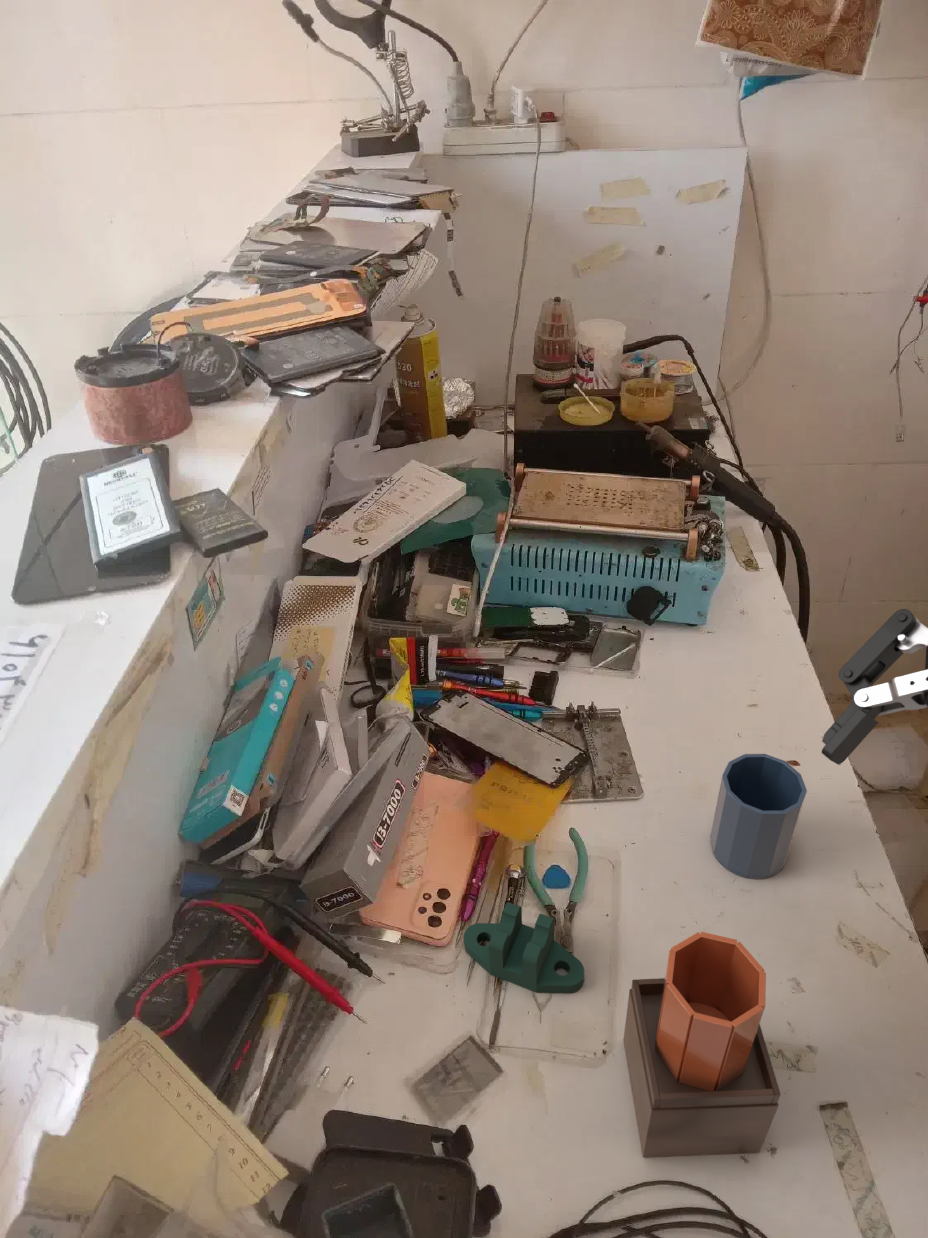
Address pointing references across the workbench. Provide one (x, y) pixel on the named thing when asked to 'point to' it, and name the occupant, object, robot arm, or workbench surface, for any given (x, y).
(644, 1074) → the box
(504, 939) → the mount
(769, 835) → the slate cup
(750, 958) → the terracotta cup
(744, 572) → the workbench surface
